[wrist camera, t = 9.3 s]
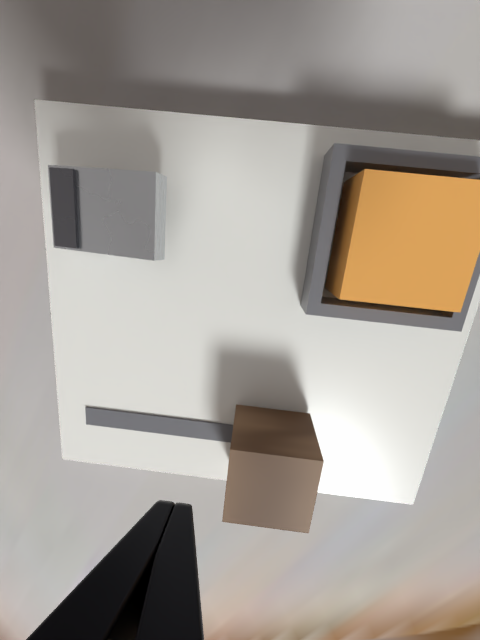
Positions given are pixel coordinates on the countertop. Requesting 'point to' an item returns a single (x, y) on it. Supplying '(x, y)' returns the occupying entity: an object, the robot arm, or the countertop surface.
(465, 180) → the push button
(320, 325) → the control panel
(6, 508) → the countertop surface
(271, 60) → the countertop surface
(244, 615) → the countertop surface
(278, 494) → the slider knob
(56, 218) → the rocker switch
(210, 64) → the countertop surface
